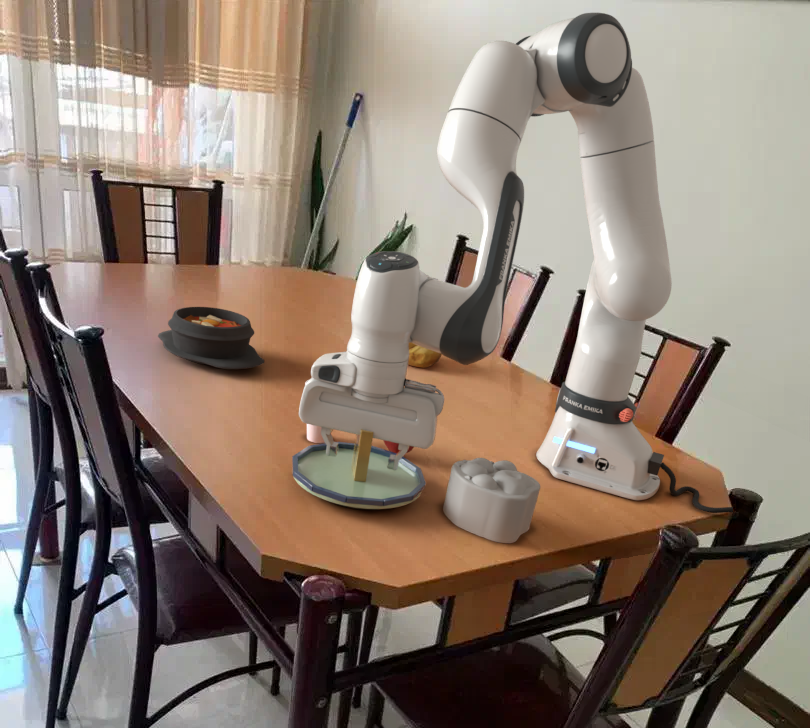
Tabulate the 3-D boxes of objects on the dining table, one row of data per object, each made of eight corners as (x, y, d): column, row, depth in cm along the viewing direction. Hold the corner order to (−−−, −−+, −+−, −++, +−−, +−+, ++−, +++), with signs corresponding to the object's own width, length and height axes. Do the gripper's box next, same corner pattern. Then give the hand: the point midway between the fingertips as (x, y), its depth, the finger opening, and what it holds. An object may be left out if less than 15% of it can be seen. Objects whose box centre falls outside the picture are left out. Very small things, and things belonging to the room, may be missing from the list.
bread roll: (414, 351, 194) (420, 318, 190) (450, 363, 190) (456, 329, 186) (389, 361, 183) (394, 326, 179) (426, 373, 180) (433, 338, 176)
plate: (432, 514, 116) (443, 460, 111) (292, 502, 112) (299, 445, 107) (412, 457, 133) (421, 407, 129) (290, 444, 129) (296, 394, 125)
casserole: (284, 371, 165) (288, 331, 161) (210, 383, 152) (212, 339, 148) (210, 335, 178) (212, 297, 174) (135, 343, 165) (135, 302, 161)
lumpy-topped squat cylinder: (507, 548, 114) (522, 493, 110) (429, 515, 119) (440, 462, 115) (535, 524, 122) (549, 472, 118) (460, 494, 127) (471, 444, 123)
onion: (420, 459, 137) (429, 415, 133) (398, 466, 133) (406, 421, 129) (396, 446, 140) (403, 403, 136) (373, 452, 136) (380, 408, 132)
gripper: (449, 381, 116) (432, 468, 123) (312, 352, 117) (303, 440, 124) (444, 394, 111) (426, 484, 117) (300, 364, 112) (291, 455, 119)
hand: (362, 461), depth 121 cm, fingers open, 8 cm apart
